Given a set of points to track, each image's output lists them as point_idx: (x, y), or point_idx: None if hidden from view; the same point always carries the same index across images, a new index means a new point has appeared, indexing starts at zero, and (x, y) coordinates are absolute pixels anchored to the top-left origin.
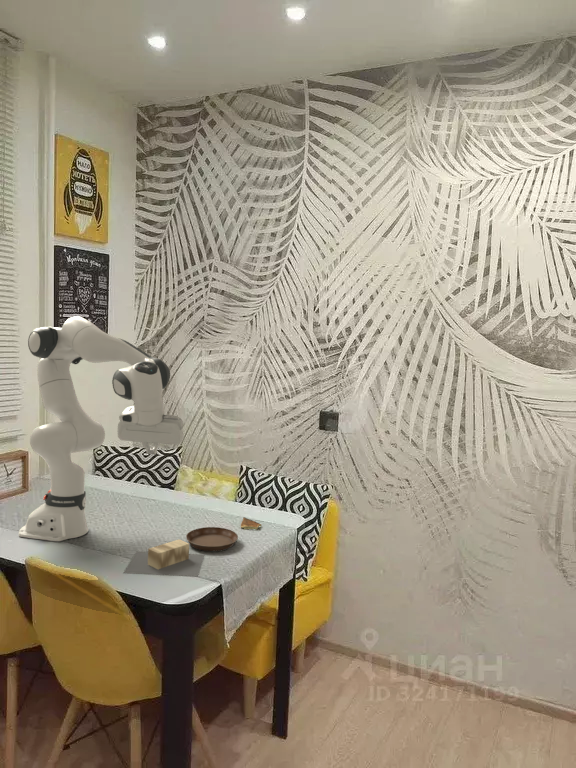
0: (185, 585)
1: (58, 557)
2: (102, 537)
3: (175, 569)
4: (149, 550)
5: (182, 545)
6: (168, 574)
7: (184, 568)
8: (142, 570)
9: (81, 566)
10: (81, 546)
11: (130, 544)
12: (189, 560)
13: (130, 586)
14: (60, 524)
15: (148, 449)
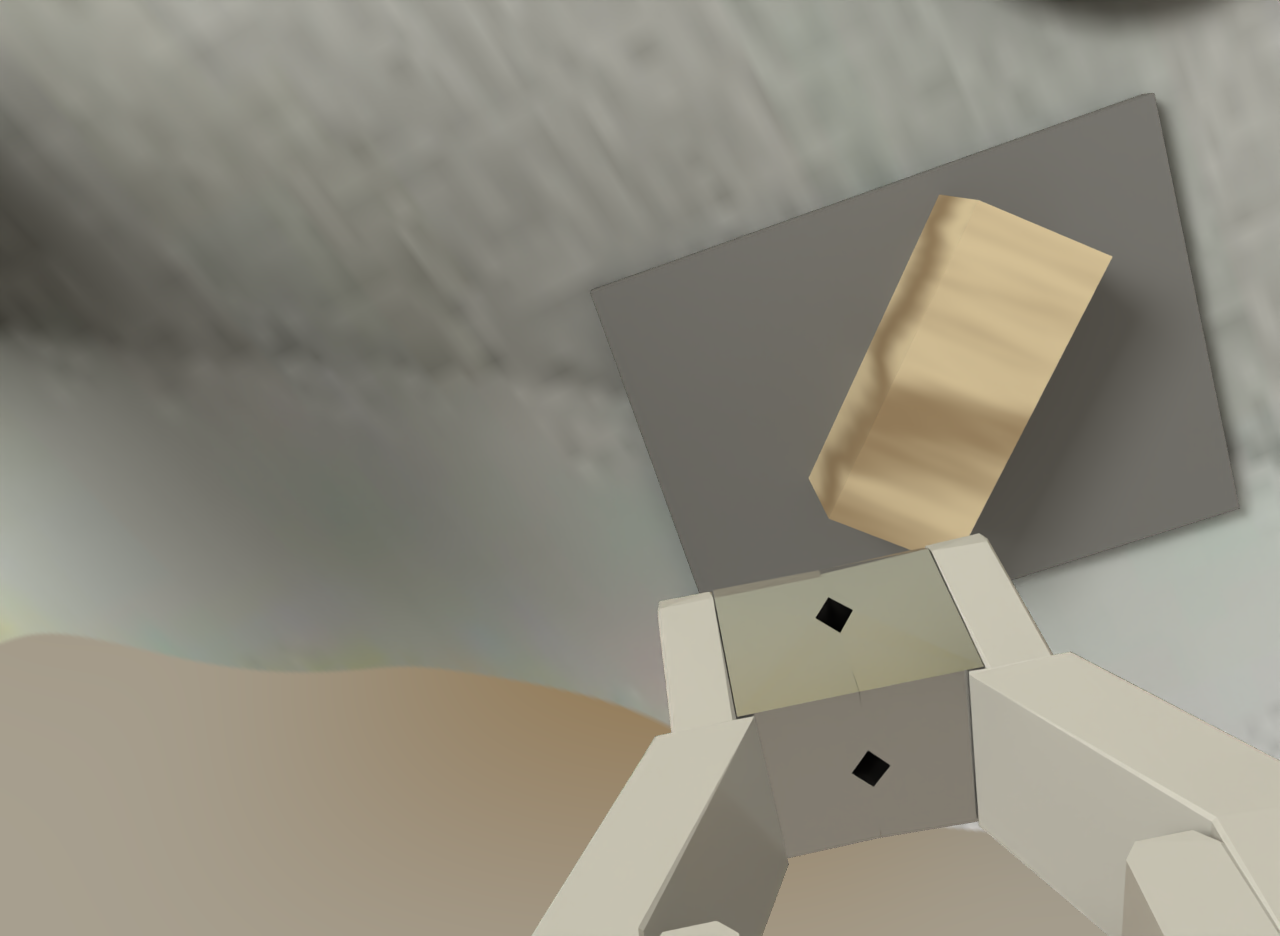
0: (1174, 604)
1: (135, 589)
2: (105, 86)
3: (1039, 468)
4: (842, 521)
5: (1071, 326)
6: (1027, 562)
7: (1096, 424)
8: None
9: (382, 643)
10: (112, 345)
11: (422, 120)
12: None
13: None
14: None
15: (793, 851)
